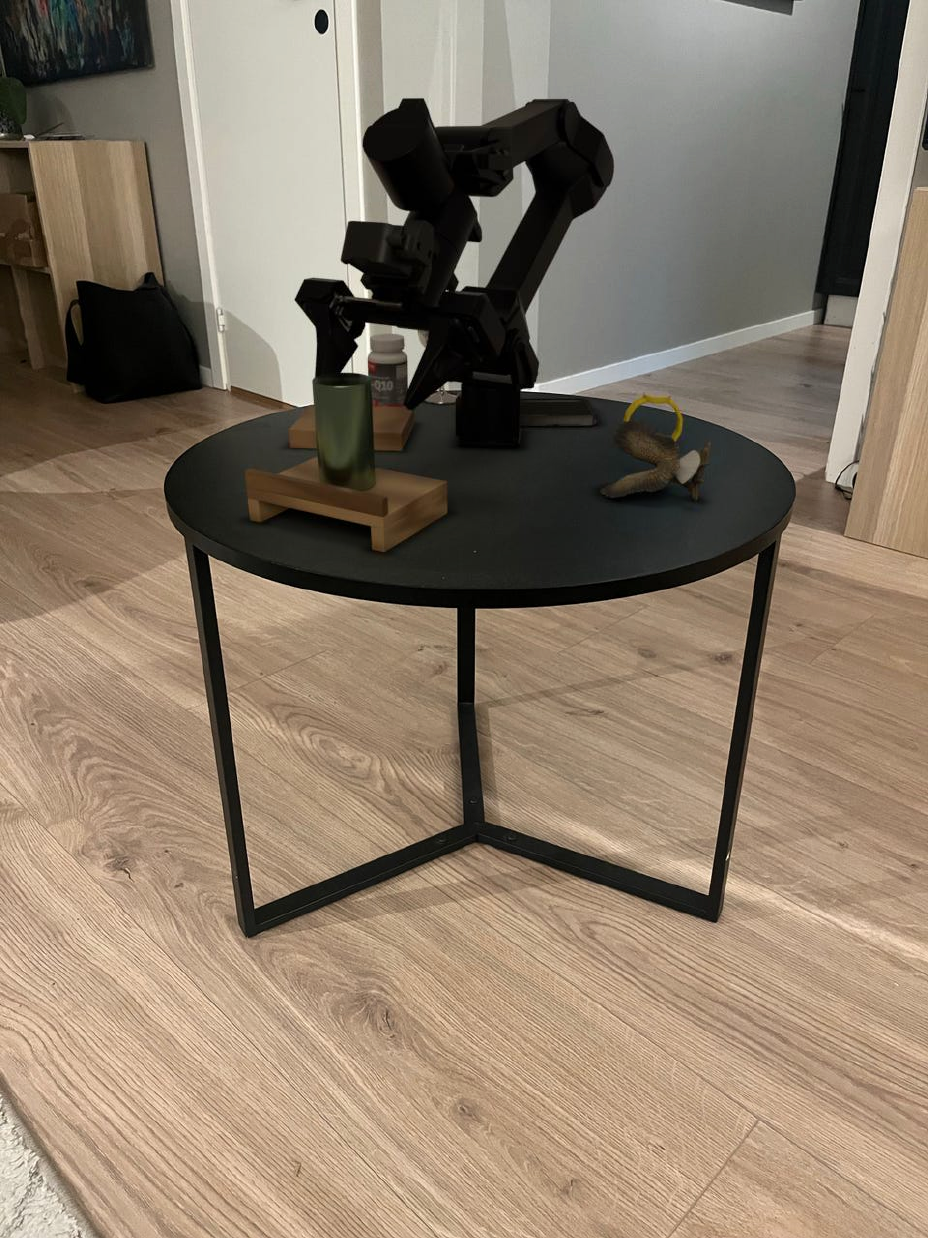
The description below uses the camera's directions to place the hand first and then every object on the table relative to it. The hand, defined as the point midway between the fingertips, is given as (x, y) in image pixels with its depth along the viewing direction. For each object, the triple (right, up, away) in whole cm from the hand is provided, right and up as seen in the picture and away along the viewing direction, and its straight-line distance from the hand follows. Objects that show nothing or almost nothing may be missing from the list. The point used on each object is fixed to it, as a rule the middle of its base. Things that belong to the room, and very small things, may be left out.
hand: (361, 400), depth 81 cm
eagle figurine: (+26, -7, +8) cm, 28 cm away
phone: (+16, +5, +31) cm, 35 cm away
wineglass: (+6, +9, +38) cm, 39 cm away
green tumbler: (-1, -7, +1) cm, 7 cm away
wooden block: (-3, +2, +24) cm, 24 cm away
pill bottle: (0, +7, +34) cm, 35 cm away
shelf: (-1, -10, +2) cm, 10 cm away
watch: (+28, -1, +20) cm, 35 cm away
